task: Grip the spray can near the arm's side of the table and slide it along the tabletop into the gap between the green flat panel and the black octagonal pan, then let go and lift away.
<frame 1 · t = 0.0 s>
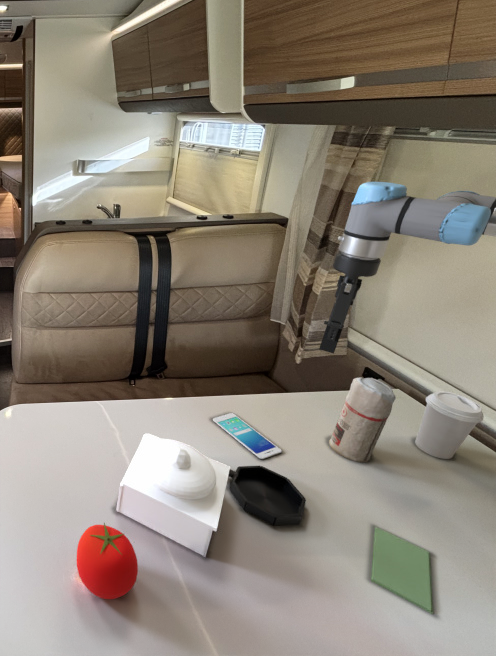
hand: (330, 339, 100), 29 cm above the table, tool pointing down, fingers open, 13 cm apart
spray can: (348, 451, 106), on the table
tomato: (103, 580, 78), on the table
green flat panel: (400, 568, 79), on the table
coffee cup: (432, 450, 106), on the table
black octagonal pan: (264, 499, 93), on the table
smartphone: (244, 437, 110), on the table
butter dish: (169, 504, 92), on the table
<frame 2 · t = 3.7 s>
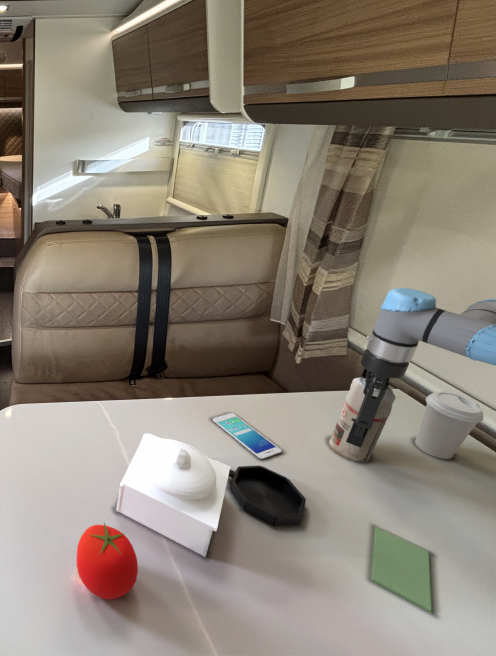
hand: (355, 433, 104), 5 cm above the table, tool pointing down, fingers closed on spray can, 8 cm apart
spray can: (348, 451, 106), on the table, touching gripper
everything else where it was.
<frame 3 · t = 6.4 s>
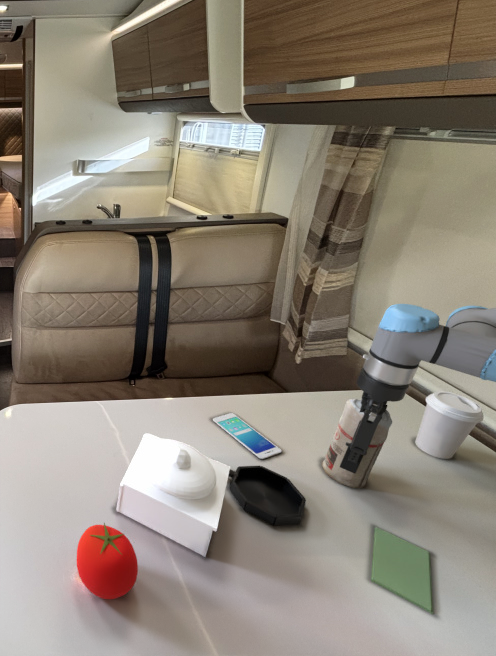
hand: (349, 457, 97), 6 cm above the table, tool pointing down, fingers closed on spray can, 8 cm apart
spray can: (342, 474, 99), on the table, touching gripper
everything else where it was.
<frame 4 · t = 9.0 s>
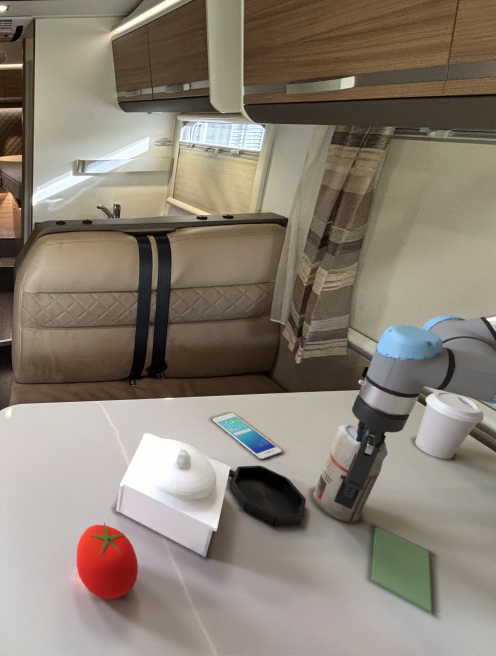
hand: (345, 490, 89), 6 cm above the table, tool pointing down, fingers closed on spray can, 8 cm apart
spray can: (335, 506, 91), on the table, touching gripper
everything else where it was.
when the fingers open (5 cm above the table, at t = 11.5 s): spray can stays where it is, on the table.
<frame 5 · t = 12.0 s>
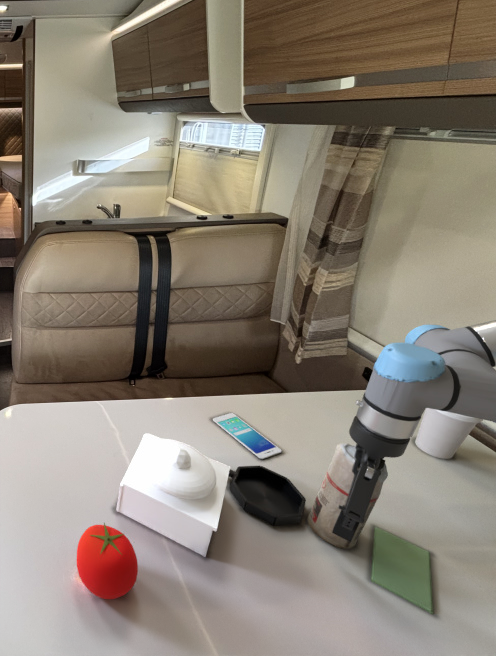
hand: (344, 511, 83), 7 cm above the table, tool pointing down, fingers open, 13 cm apart
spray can: (330, 530, 86), on the table
everything else where it was.
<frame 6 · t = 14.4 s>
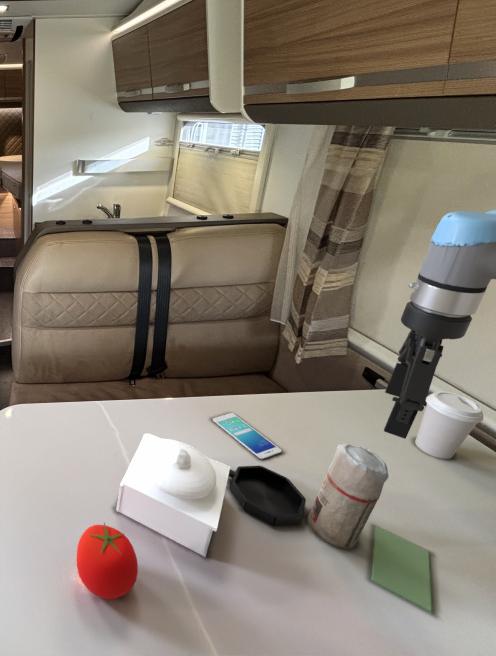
hand: (394, 413, 77), 29 cm above the table, tool pointing down, fingers open, 13 cm apart
nothing on the table moved.
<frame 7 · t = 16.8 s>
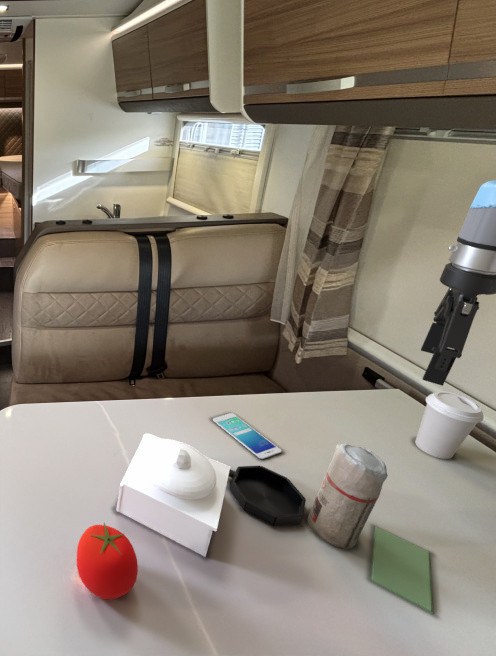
hand: (430, 366, 85), 32 cm above the table, tool pointing down, fingers open, 13 cm apart
nothing on the table moved.
at the end: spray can inside the target area on the table beside the green flat panel (0.9 cm from its centre), on the table; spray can tilted 0°; the gripper is holding nothing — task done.
